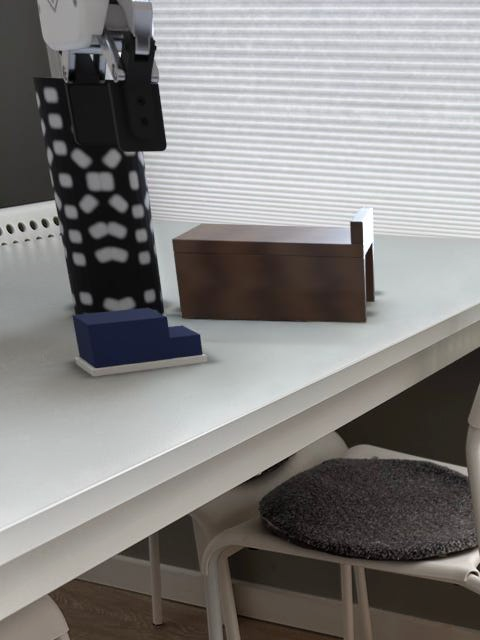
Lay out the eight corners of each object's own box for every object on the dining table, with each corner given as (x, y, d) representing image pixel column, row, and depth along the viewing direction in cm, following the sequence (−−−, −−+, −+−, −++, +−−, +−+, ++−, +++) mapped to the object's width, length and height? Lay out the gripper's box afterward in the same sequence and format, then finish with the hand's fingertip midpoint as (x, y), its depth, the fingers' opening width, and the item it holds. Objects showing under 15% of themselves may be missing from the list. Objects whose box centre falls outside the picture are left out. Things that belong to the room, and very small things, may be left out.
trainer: (94, 385, 72) (84, 325, 69) (77, 372, 75) (66, 314, 72) (208, 370, 76) (202, 313, 74) (188, 358, 79) (181, 303, 77)
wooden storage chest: (181, 318, 93) (168, 215, 88) (209, 295, 103) (199, 202, 98) (365, 322, 93) (362, 221, 89) (375, 299, 104) (372, 207, 99)
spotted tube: (182, 311, 95) (153, 80, 85) (123, 326, 89) (84, 78, 79) (118, 302, 98) (83, 78, 88) (56, 316, 92) (11, 76, 82)
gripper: (-25, -146, 63) (32, 143, 72) (46, -199, 51) (105, 155, 60) (89, -131, 67) (131, 141, 76) (180, -177, 55) (217, 153, 64)
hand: (119, 147), depth 68 cm, fingers open, 9 cm apart
